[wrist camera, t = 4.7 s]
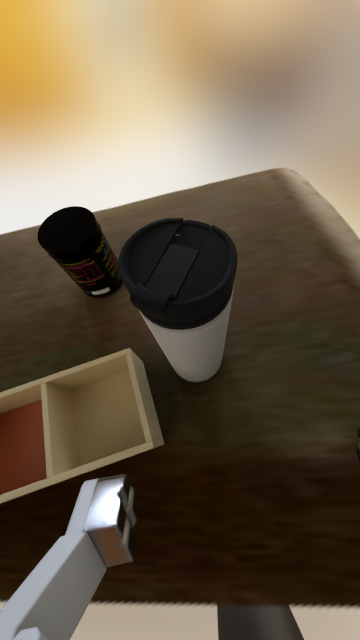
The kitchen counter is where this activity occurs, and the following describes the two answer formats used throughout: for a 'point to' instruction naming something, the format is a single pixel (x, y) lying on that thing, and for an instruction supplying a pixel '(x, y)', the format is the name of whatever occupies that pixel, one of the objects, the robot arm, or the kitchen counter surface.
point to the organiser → (75, 423)
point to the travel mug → (183, 290)
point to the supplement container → (81, 250)
